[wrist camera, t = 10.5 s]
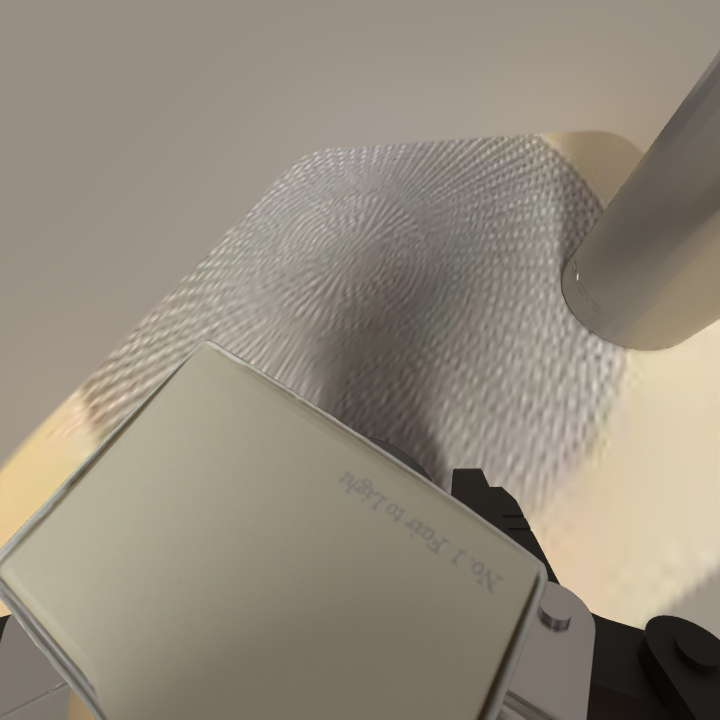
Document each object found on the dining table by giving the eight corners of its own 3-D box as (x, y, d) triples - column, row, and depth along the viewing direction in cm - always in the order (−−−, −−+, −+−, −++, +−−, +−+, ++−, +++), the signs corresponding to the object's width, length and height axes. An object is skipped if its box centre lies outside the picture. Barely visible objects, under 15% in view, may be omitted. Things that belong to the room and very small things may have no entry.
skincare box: (435, 544, 16) (584, 569, 4) (376, 653, 14) (382, 1086, 3) (315, 457, 17) (207, 320, 6) (250, 546, 16) (-40, 576, 5)
